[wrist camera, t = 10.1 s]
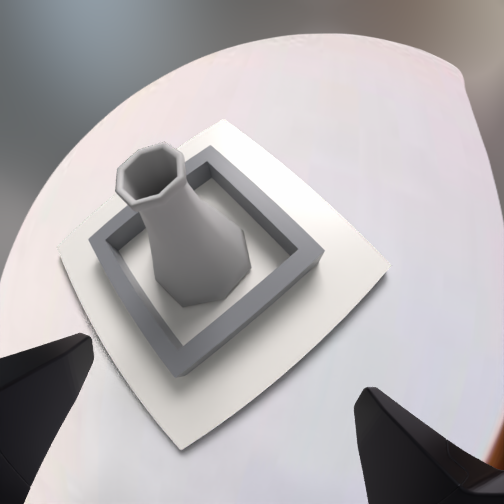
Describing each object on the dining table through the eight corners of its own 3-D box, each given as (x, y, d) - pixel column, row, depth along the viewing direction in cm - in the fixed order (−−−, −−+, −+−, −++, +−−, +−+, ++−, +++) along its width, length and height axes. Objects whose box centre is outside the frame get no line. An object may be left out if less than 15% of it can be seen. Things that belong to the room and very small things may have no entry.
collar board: (386, 269, 20) (404, 255, 17) (184, 446, 16) (170, 460, 13) (225, 125, 26) (220, 102, 23) (62, 250, 22) (42, 237, 19)
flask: (178, 325, 18) (96, 291, 9) (140, 241, 20) (68, 164, 11) (270, 273, 19) (273, 190, 10) (220, 196, 21) (193, 94, 12)
